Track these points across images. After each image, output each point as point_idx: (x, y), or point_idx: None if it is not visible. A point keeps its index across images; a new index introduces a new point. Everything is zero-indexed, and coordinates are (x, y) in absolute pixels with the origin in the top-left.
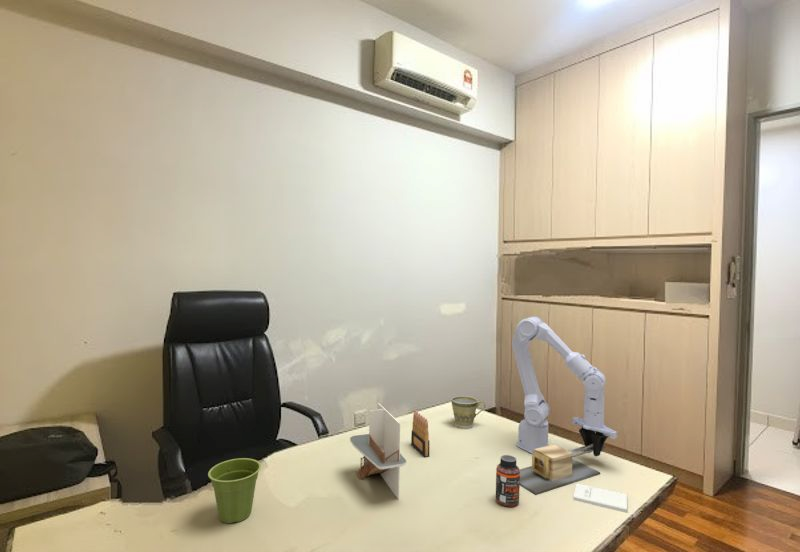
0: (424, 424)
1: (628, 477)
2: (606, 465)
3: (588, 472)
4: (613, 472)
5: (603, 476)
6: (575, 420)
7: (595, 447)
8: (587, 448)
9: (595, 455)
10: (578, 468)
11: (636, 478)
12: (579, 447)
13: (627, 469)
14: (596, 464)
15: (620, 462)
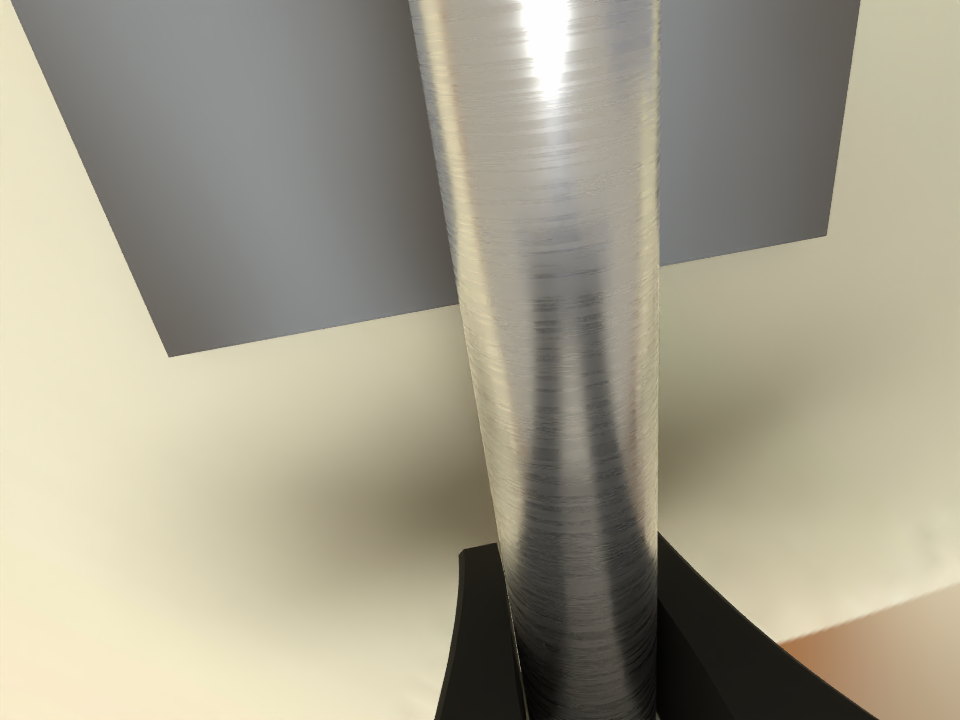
0: None
1: (45, 605)
2: (407, 568)
3: (177, 147)
4: (207, 534)
5: (95, 339)
6: None
7: (456, 695)
8: (521, 540)
9: (464, 561)
10: (377, 78)
11: (13, 662)
12: (609, 373)
13: (257, 693)
14: (471, 484)
15: (425, 715)
